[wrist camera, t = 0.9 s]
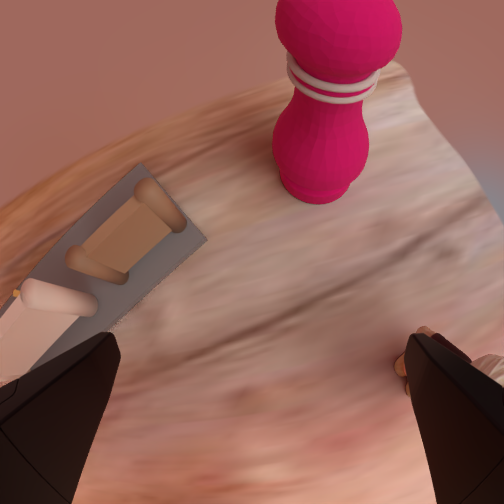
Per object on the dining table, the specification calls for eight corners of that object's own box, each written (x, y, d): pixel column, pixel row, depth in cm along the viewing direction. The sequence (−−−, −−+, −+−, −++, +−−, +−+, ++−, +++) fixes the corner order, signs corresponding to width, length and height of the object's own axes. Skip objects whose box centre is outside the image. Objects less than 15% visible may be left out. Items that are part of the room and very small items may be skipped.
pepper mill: (372, 187, 26) (468, -10, 7) (301, 225, 26) (331, 3, 7) (326, 126, 28) (354, -75, 9) (258, 158, 28) (223, -58, 9)
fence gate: (90, 289, 25) (32, 272, 18) (102, 307, 25) (43, 295, 17) (17, 367, 24) (-40, 368, 17) (26, 384, 24) (-31, 389, 16)
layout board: (143, 165, 29) (106, 118, 21) (207, 239, 27) (179, 204, 19) (-1, 315, 27) (-52, 306, 19) (40, 396, 24) (-15, 404, 17)
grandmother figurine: (451, 384, 22) (550, 406, 9) (418, 415, 21) (506, 463, 9) (404, 317, 24) (496, 299, 11) (368, 348, 23) (444, 360, 11)
